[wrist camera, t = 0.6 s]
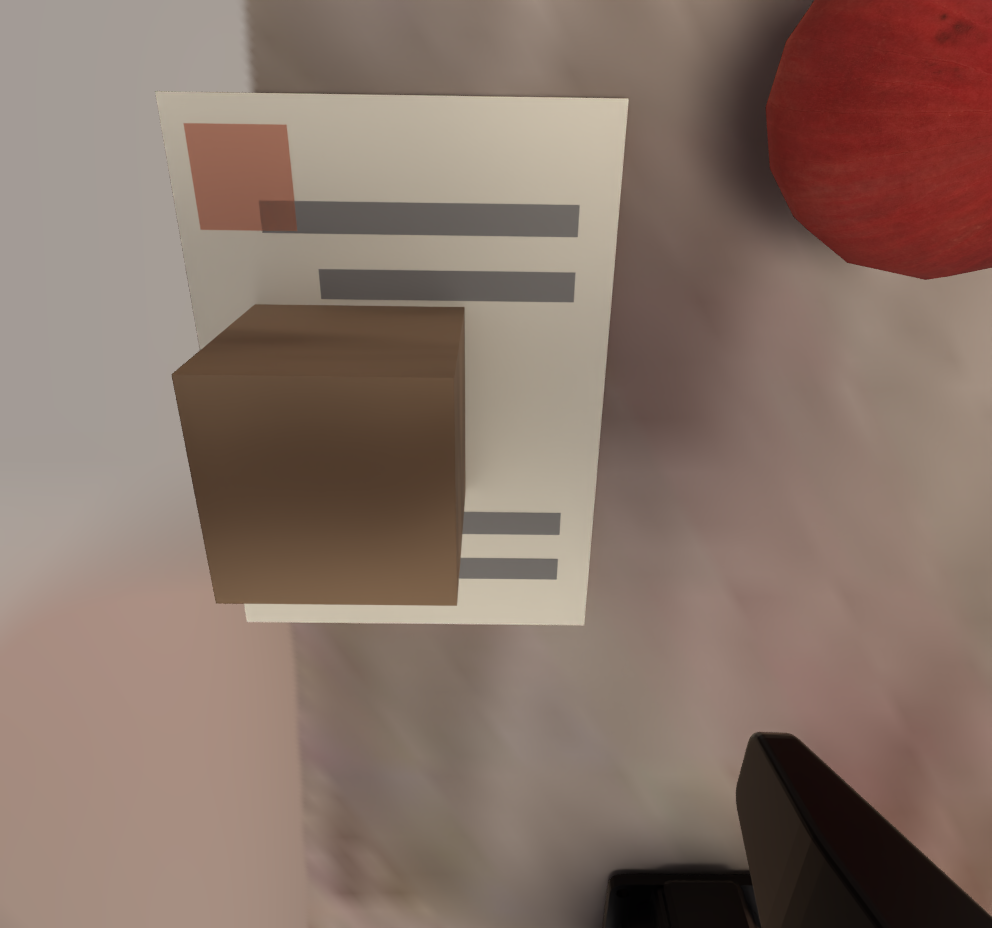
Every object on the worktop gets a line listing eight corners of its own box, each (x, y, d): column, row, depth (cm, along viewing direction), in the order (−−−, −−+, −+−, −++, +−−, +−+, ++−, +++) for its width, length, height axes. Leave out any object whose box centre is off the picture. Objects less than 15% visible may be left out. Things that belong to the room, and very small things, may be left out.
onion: (939, -132, 14) (1401, -374, 7) (1030, 136, 16) (1456, 164, 9) (673, 66, 16) (826, 36, 8) (788, 288, 18) (989, 415, 10)
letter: (582, 616, 22) (584, 625, 22) (251, 613, 22) (246, 622, 22) (625, 98, 16) (628, 98, 15) (162, 91, 16) (154, 91, 15)
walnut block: (465, 491, 20) (457, 606, 15) (279, 488, 20) (216, 603, 15) (464, 307, 17) (453, 378, 13) (254, 304, 17) (171, 374, 13)
